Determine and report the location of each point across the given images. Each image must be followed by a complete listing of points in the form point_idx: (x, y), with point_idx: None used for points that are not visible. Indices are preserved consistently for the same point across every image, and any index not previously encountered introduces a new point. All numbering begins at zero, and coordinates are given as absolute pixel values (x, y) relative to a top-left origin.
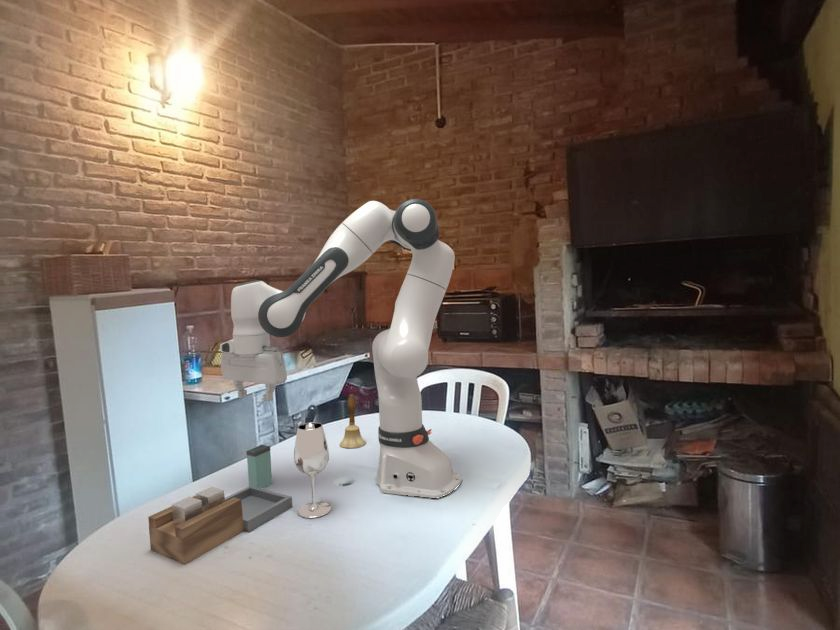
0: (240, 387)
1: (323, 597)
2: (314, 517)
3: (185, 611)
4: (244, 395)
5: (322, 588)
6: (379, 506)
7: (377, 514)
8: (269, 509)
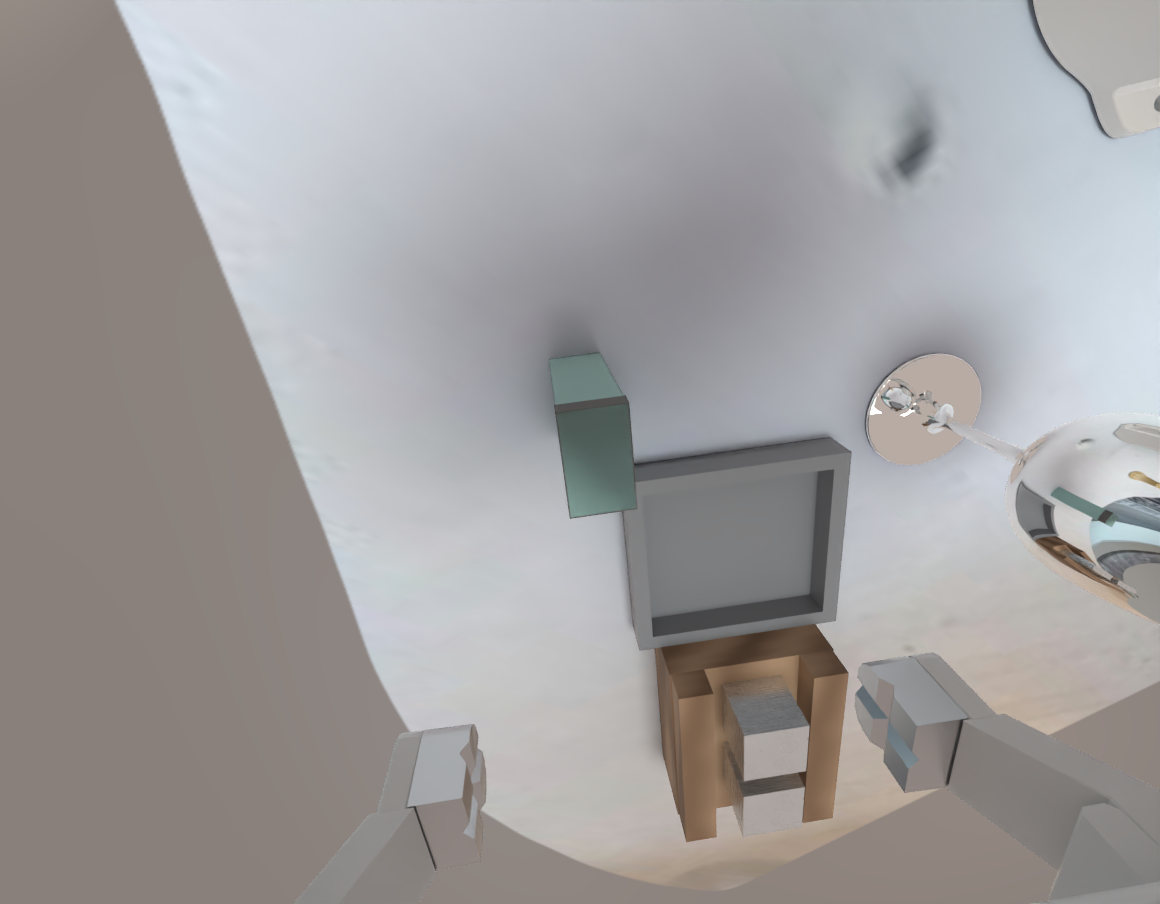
0: (396, 892)
1: (1148, 636)
2: (953, 446)
3: None
4: (473, 759)
5: (1134, 622)
6: (1139, 248)
7: (1151, 303)
8: (842, 547)
